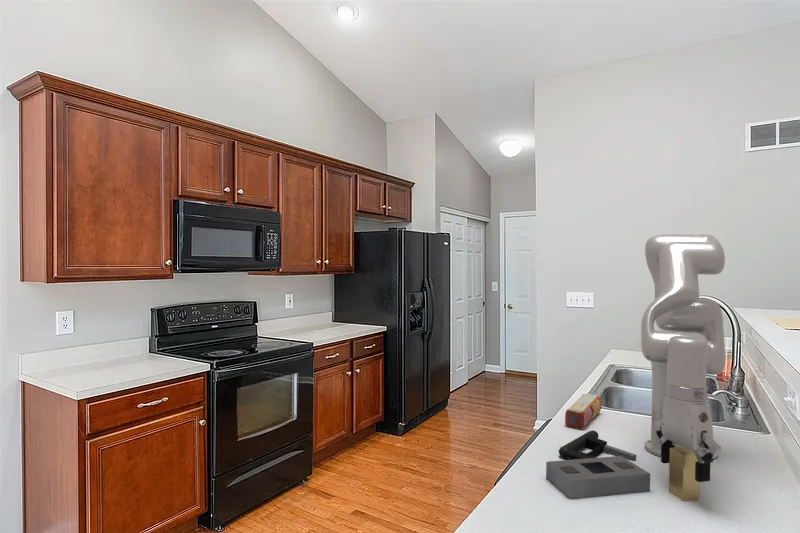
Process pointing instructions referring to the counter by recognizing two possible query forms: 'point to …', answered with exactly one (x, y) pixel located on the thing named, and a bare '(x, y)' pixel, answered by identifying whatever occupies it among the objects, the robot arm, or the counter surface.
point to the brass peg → (683, 474)
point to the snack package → (583, 411)
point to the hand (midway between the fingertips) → (684, 471)
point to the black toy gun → (591, 448)
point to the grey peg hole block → (597, 477)
